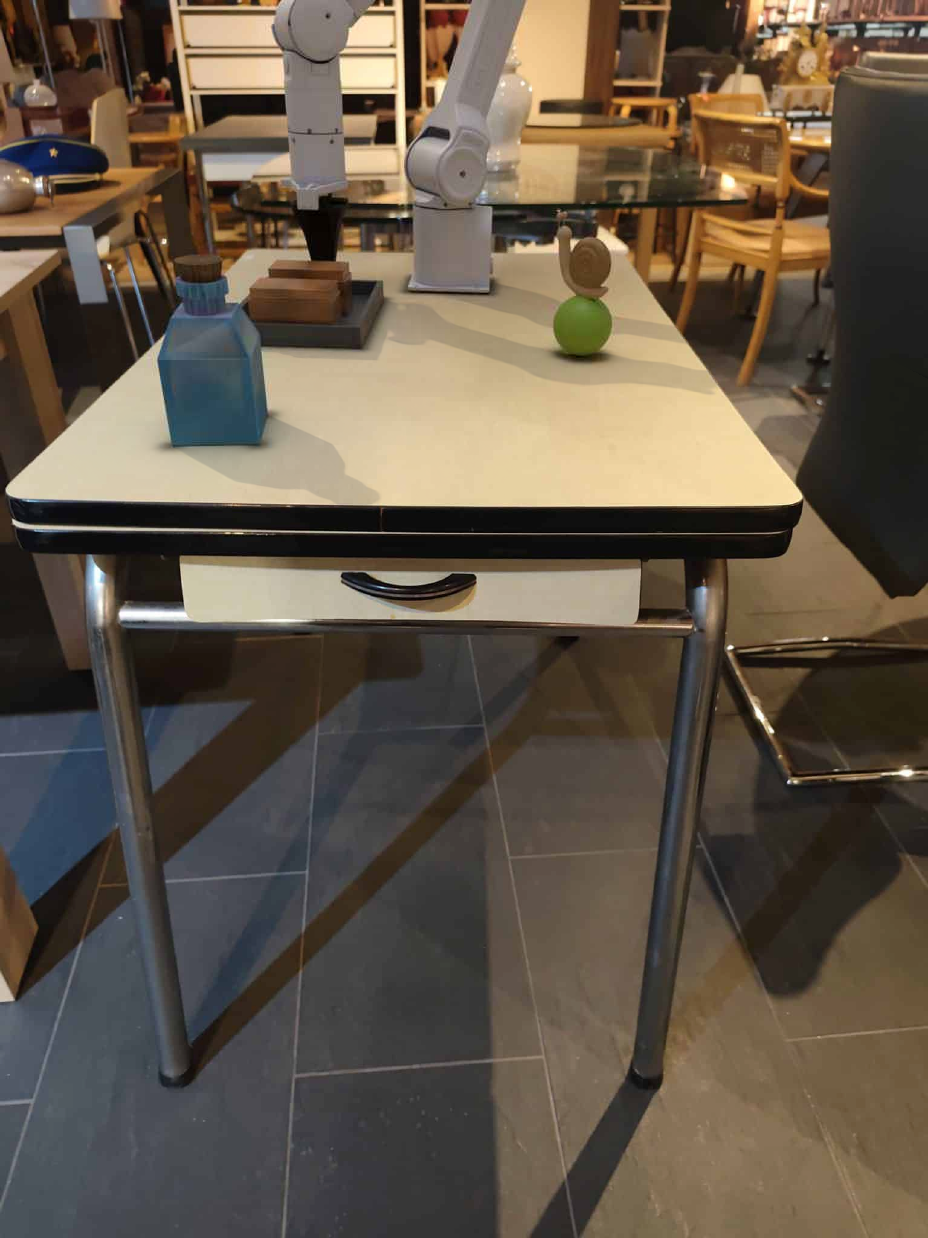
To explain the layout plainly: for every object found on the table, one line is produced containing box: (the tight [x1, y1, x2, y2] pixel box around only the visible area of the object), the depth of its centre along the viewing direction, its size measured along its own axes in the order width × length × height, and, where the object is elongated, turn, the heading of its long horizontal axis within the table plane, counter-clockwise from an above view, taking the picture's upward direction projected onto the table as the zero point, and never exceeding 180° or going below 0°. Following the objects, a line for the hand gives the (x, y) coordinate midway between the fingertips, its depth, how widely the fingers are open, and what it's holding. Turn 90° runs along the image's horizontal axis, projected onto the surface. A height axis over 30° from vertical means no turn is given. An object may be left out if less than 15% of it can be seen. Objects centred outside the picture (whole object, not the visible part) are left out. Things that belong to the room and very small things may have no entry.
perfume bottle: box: [156, 254, 269, 447], centre depth 63 cm, size 6×6×12 cm
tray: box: [239, 276, 385, 349], centre depth 92 cm, size 13×19×2 cm
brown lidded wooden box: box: [267, 259, 353, 316], centre depth 92 cm, size 8×4×4 cm, turn 88°
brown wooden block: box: [248, 277, 342, 325], centre depth 85 cm, size 8×4×4 cm, turn 88°
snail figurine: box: [552, 211, 613, 357], centre depth 81 cm, size 5×6×12 cm
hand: (324, 270), depth 99 cm, fingers closed
